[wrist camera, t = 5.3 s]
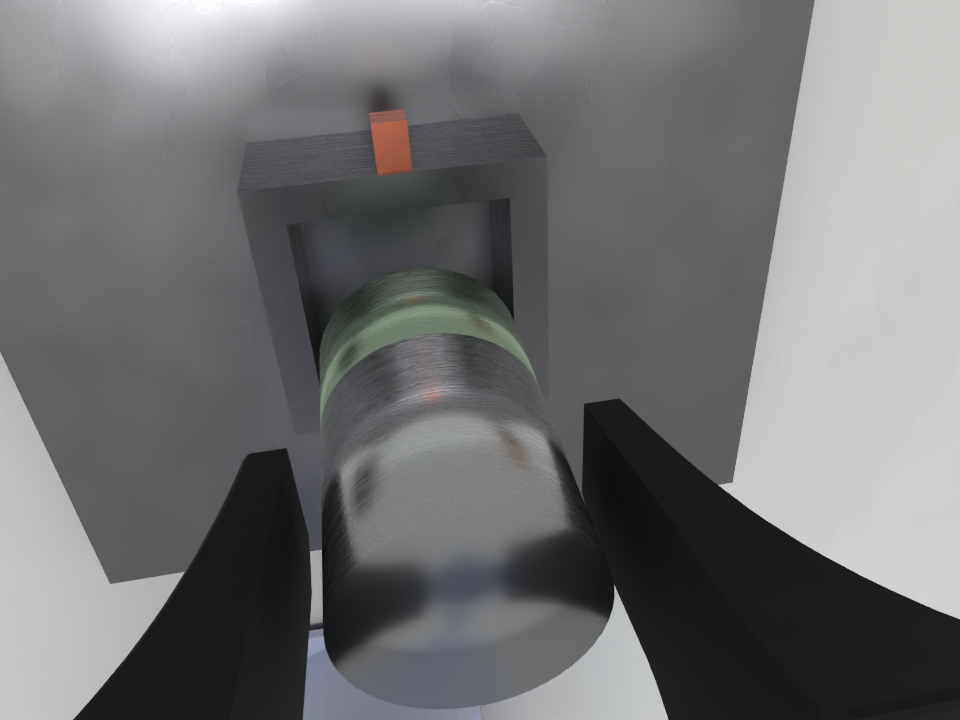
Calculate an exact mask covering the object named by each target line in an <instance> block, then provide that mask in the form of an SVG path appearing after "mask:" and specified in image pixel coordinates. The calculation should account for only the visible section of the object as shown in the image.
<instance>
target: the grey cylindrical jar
mask: <svg viewBox="0 0 960 720" xmlns="http://www.w3.org/2000/svg"><path fill="white" fill-rule="evenodd" d="M320 432H321V506H322V580H323V636H324V643H325V648H326V651H327V653H328V656H329V659H330V660H331V662H332V664H333V665H334V667H335V668H336V670H337V671H338V672H339V673H340V674H341V675H342V676H343V677H344V679H346V680H347V681H348V682H349V683H351V684H352V685H353V686H354V687H356V688H357V689H359V690H361V691H363V692H364V693H366V694H368V695H370V696H373V697H375V698H377V699H380V700H382V701H386V702H389V703H393V704H396V705H401V706H406V707H412V708H422V709H458V708H467V707H474V706H481V705H485V704H489V703H494V702H498V701H501V700H505V699H508V698H511V697H514V696H517V695H519V694H522V693H524V692H527V691H530V690H532V689H534V688H536V687H538V686H540V685H542V684H544V683H546V682H548V681H549V680H551V679H553V678H554V677H556V676H558V675H559V674H561V673H562V672H563V671H565V670H566V669H568V668H569V667H570V666H572V665H573V664H574V663H575V662H576V661H578V660H579V659H580V658H581V657H582V656H583V655H584V654H585V653H586V652H587V651H588V650H589V649H590V648H591V647H592V646H593V644H594V643H595V642H596V640H597V639H598V638H599V636H600V635H601V633H602V632H603V630H604V628H605V626H606V624H607V622H608V620H609V617H610V614H611V611H612V608H613V602H614V582H613V578H612V574H611V571H610V568H609V565H608V563H607V560H606V558H605V555H604V552H603V550H602V547H601V545H600V542H599V540H598V537H597V534H596V532H595V529H594V527H593V524H592V521H591V519H590V516H589V514H588V511H587V509H586V506H585V503H584V501H583V498H582V496H581V493H580V491H579V488H578V485H577V483H576V480H575V478H574V475H573V472H572V470H571V467H570V465H569V462H568V460H567V457H566V454H565V452H564V449H563V447H562V444H561V441H560V439H559V436H558V434H557V431H556V429H555V426H554V423H553V421H552V418H551V416H550V413H549V411H548V408H547V405H546V403H545V400H544V398H543V395H542V392H541V390H540V387H539V385H538V382H537V380H536V377H535V374H534V372H533V369H532V367H531V364H530V361H529V359H528V356H527V354H526V351H525V349H524V346H523V343H522V341H521V338H520V336H519V333H518V331H517V328H516V325H515V323H514V320H513V318H512V316H511V314H510V312H509V310H508V309H507V307H506V306H505V304H504V303H503V301H502V300H501V299H500V298H499V297H498V296H497V295H496V294H495V293H494V292H493V291H492V290H490V289H489V288H488V287H487V286H485V285H484V284H482V283H480V282H479V281H477V280H475V279H473V278H471V277H468V276H466V275H464V274H460V273H457V272H454V271H450V270H444V269H436V268H417V269H408V270H402V271H397V272H394V273H390V274H387V275H384V276H382V277H379V278H377V279H375V280H373V281H371V282H369V283H367V284H366V285H364V286H362V287H361V288H359V289H358V290H356V291H355V292H354V293H353V294H351V295H350V296H349V297H348V298H347V299H346V300H345V301H344V302H343V303H342V304H341V305H340V306H339V307H338V309H337V310H336V311H335V313H334V314H333V315H332V317H331V319H330V321H329V322H328V324H327V326H326V329H325V331H324V334H323V337H322V341H321V346H320Z"/></svg>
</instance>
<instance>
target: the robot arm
mask: <svg viewBox="0 0 960 720" xmlns="http://www.w3.org/2000/svg"><path fill="white" fill-rule="evenodd" d="M582 495H583V499H584V502H585V506H586V509H587V511H588V514H589V516H590V519H591V521H592V524H593V527H594V529H595V532H596V534H597V537H598V540H599V542H600V545H601V547H602V550H603V552H604V555H605V558H606V560H607V563H608V565H609V568H610V571H611V574H612V578H613V582H614V585H615V587H616V589H617V592H618V594H619V596H620V598H621V601H622V603H623V605H624V607H625V610H626V612H627V614H628V616H629V619H630V621H631V623H632V625H633V628H634V630H635V632H636V635H637V637H638V639H639V641H640V644H641V646H642V648H643V650H644V653H645V655H646V657H647V660H648V662H649V665H650V667H651V670H652V672H653V675H654V677H655V680H656V683H657V686H658V689H659V692H660V695H661V698H662V701H663V704H664V707H665V710H666V713H667V716H668V719H669V720H960V619H957V618H955V617H952V616H949V615H947V614H944V613H942V612H939V611H937V610H934V609H932V608H929V607H927V606H925V605H923V604H920V603H918V602H916V601H914V600H911V599H909V598H907V597H905V596H902V595H900V594H898V593H896V592H894V591H891V590H889V589H887V588H885V587H883V586H881V585H879V584H877V583H875V582H873V581H871V580H868V579H866V578H864V577H862V576H860V575H858V574H857V573H855V572H853V571H851V570H849V569H847V568H845V567H844V566H842V565H840V564H838V563H836V562H834V561H832V560H830V559H829V558H827V557H825V556H823V555H821V554H820V553H818V552H816V551H814V550H813V549H811V548H809V547H807V546H806V545H804V544H802V543H801V542H799V541H797V540H796V539H794V538H793V537H791V536H790V535H788V534H786V533H785V532H783V531H782V530H780V529H779V528H777V527H775V526H774V525H772V524H771V523H769V522H768V521H766V520H765V519H763V518H762V517H760V516H759V515H757V514H756V513H754V512H753V511H752V510H750V509H749V508H747V507H746V506H745V505H743V504H742V503H741V502H739V501H738V500H737V499H735V498H734V497H733V496H731V495H730V494H729V493H727V492H726V491H725V490H723V489H722V488H721V487H720V486H718V485H717V484H716V483H715V482H713V481H712V480H711V479H710V478H708V477H707V476H706V475H705V474H704V473H703V472H701V471H700V470H699V469H698V468H697V467H695V466H694V465H693V464H692V463H691V462H689V461H688V460H687V459H686V458H685V457H683V456H682V455H681V454H680V453H679V452H678V451H677V450H675V449H674V448H673V447H672V446H671V445H670V444H669V443H668V442H667V441H665V440H664V439H663V438H662V437H661V436H660V435H659V434H658V433H657V432H656V431H654V430H653V429H652V428H651V427H650V426H649V425H648V424H647V423H646V422H645V421H644V420H643V419H642V418H641V417H639V416H638V415H637V414H636V413H635V412H634V411H633V410H632V409H631V408H630V407H629V406H628V405H627V404H626V403H624V402H623V401H622V400H621V399H619V398H618V399H612V400H605V401H598V402H592V403H585V404H584V424H583V463H582ZM311 596H312V590H311V566H310V547H309V535H308V531H307V527H306V523H305V519H304V515H303V511H302V507H301V503H300V499H299V495H298V491H297V487H296V483H295V479H294V475H293V471H292V467H291V463H290V459H289V455H288V451H287V448H283V449H276V450H270V451H263V452H256V453H250V454H248V455H247V456H246V457H245V458H244V460H243V461H242V464H241V466H240V468H239V471H238V473H237V475H236V478H235V480H234V482H233V484H232V486H231V488H230V491H229V493H228V495H227V497H226V499H225V501H224V503H223V505H222V507H221V509H220V511H219V513H218V515H217V517H216V519H215V521H214V522H213V524H212V526H211V528H210V530H209V532H208V533H207V535H206V537H205V539H204V541H203V542H202V544H201V546H200V548H199V550H198V552H197V553H196V555H195V557H194V558H193V560H192V562H191V563H190V565H189V567H188V568H187V570H186V571H185V573H184V575H183V576H182V578H181V579H180V581H179V583H178V584H177V586H176V587H175V589H174V591H173V592H172V594H171V595H170V597H169V599H168V600H167V602H166V603H165V605H164V606H163V608H162V609H161V610H160V612H159V613H158V615H157V616H156V618H155V619H154V621H153V622H152V623H151V625H150V626H149V628H148V629H147V630H146V632H145V633H144V634H143V636H142V637H141V638H140V640H139V641H138V642H137V644H136V645H135V646H134V648H133V649H132V650H131V652H130V653H129V654H128V656H127V657H126V658H125V659H124V661H123V662H122V663H121V664H120V666H119V667H118V668H117V669H116V670H115V672H114V673H113V674H112V675H111V676H110V678H109V679H108V680H107V681H106V683H105V684H104V685H103V686H102V687H101V689H100V690H99V691H98V692H97V693H96V695H95V696H94V697H93V698H92V699H91V700H90V701H89V703H88V704H87V705H86V706H85V707H84V708H83V709H82V710H81V712H80V713H79V714H78V715H77V716H76V717H75V718H74V719H73V720H481V711H480V706H474V707H467V708H458V709H422V708H412V707H406V706H401V705H396V704H393V703H389V702H386V701H382V700H380V699H377V698H375V697H373V696H370V695H368V694H366V693H364V692H363V691H361V690H359V689H357V688H356V687H354V686H353V685H352V684H351V683H349V682H348V681H347V680H346V679H344V677H343V676H342V675H341V674H340V673H339V672H338V671H337V670H336V668H335V667H334V665H333V664H332V662H331V660H330V659H329V656H328V653H327V651H326V648H325V643H324V636H323V629H317V630H311V631H309V627H310V612H311Z"/></svg>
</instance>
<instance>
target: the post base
mask: <svg viewBox="0 0 960 720" xmlns="http://www.w3.org/2000/svg"><path fill="white" fill-rule="evenodd" d="M813 6H814V0H0V352H1V354H2V356H3V358H4V360H5V363H6V365H7V367H8V369H9V371H10V373H11V375H12V377H13V379H14V382H15V384H16V386H17V388H18V390H19V392H20V394H21V396H22V398H23V401H24V403H25V405H26V407H27V409H28V411H29V413H30V415H31V417H32V420H33V422H34V424H35V426H36V428H37V430H38V432H39V434H40V436H41V439H42V441H43V443H44V445H45V447H46V449H47V451H48V453H49V455H50V458H51V460H52V462H53V464H54V466H55V468H56V470H57V472H58V474H59V477H60V479H61V481H62V483H63V485H64V487H65V489H66V491H67V493H68V496H69V498H70V500H71V502H72V504H73V506H74V508H75V510H76V512H77V515H78V517H79V519H80V521H81V523H82V525H83V527H84V529H85V531H86V534H87V536H88V538H89V540H90V542H91V544H92V546H93V548H94V550H95V553H96V555H97V557H98V559H99V561H100V563H101V565H102V567H103V569H104V572H105V574H106V576H107V578H108V580H109V582H110V584H112V583H118V582H124V581H130V580H137V579H143V578H149V577H155V576H161V575H167V574H173V573H180V572H185V571H186V570H187V568H188V567H189V565H190V563H191V562H192V560H193V558H194V557H195V555H196V553H197V552H198V550H199V548H200V546H201V544H202V542H203V541H204V539H205V537H206V535H207V533H208V532H209V530H210V528H211V526H212V524H213V522H214V521H215V519H216V517H217V515H218V513H219V511H220V509H221V507H222V505H223V503H224V501H225V499H226V497H227V495H228V493H229V491H230V488H231V486H232V484H233V482H234V480H235V478H236V475H237V473H238V471H239V468H240V466H241V464H242V461H243V460H244V458H245V457H246V456H247V455H248V454H250V453H256V452H263V451H270V450H276V449H283V448H287V451H288V455H289V459H290V463H291V467H292V471H293V475H294V479H295V483H296V487H297V491H298V495H299V499H300V503H301V507H302V511H303V515H304V519H305V523H306V527H307V531H308V535H309V547H310V551H314V550H321V549H322V506H321V432H320V346H321V341H322V337H323V334H324V331H325V329H326V326H327V324H328V322H329V321H330V319H331V317H332V315H333V314H334V313H335V311H336V310H337V309H338V307H339V306H340V305H341V304H342V303H343V302H344V301H345V300H346V299H347V298H348V297H349V296H350V295H351V294H353V293H354V292H355V291H356V290H358V289H359V288H361V287H362V286H364V285H366V284H367V283H369V282H371V281H373V280H375V279H377V278H379V277H382V276H384V275H387V274H390V273H394V272H397V271H402V270H408V269H417V268H436V269H444V270H450V271H454V272H457V273H460V274H464V275H466V276H468V277H471V278H473V279H475V280H477V281H479V282H480V283H482V284H484V285H485V286H487V287H488V288H489V289H490V290H492V291H493V292H494V293H495V294H496V295H497V296H498V297H499V298H500V299H501V300H502V301H503V303H504V304H505V306H506V307H507V309H508V310H509V312H510V314H511V316H512V318H513V320H514V323H515V325H516V328H517V331H518V333H519V336H520V338H521V341H522V343H523V346H524V349H525V351H526V354H527V356H528V359H529V361H530V364H531V367H532V369H533V372H534V374H535V377H536V380H537V382H538V385H539V387H540V390H541V392H542V395H543V398H544V400H545V403H546V405H547V408H548V411H549V413H550V416H551V418H552V421H553V423H554V426H555V429H556V431H557V434H558V436H559V439H560V441H561V444H562V447H563V449H564V452H565V454H566V457H567V460H568V462H569V465H570V467H571V470H572V472H573V475H574V478H575V480H576V483H577V485H578V488H579V491H580V493H581V496H582V498H583V495H582V463H583V424H584V404H585V403H592V402H598V401H605V400H612V399H618V398H619V399H621V400H622V401H623V402H624V403H626V404H627V405H628V406H629V407H630V408H631V409H632V410H633V411H634V412H635V413H636V414H637V415H638V416H639V417H641V418H642V419H643V420H644V421H645V422H646V423H647V424H648V425H649V426H650V427H651V428H652V429H653V430H654V431H656V432H657V433H658V434H659V435H660V436H661V437H662V438H663V439H664V440H665V441H667V442H668V443H669V444H670V445H671V446H672V447H673V448H674V449H675V450H677V451H678V452H679V453H680V454H681V455H682V456H683V457H685V458H686V459H687V460H688V461H689V462H691V463H692V464H693V465H694V466H695V467H697V468H698V469H699V470H700V471H701V472H703V473H704V474H705V475H706V476H707V477H708V478H710V479H711V480H712V481H713V482H715V483H716V484H717V485H719V484H725V483H731V482H733V476H734V470H735V464H736V459H737V453H738V447H739V441H740V435H741V429H742V423H743V417H744V412H745V406H746V400H747V394H748V388H749V382H750V376H751V370H752V365H753V359H754V353H755V347H756V341H757V335H758V329H759V323H760V318H761V312H762V306H763V300H764V294H765V288H766V282H767V276H768V271H769V265H770V259H771V253H772V247H773V241H774V235H775V229H776V224H777V218H778V212H779V206H780V200H781V194H782V188H783V182H784V177H785V171H786V165H787V159H788V153H789V147H790V141H791V135H792V130H793V124H794V118H795V112H796V106H797V100H798V94H799V88H800V83H801V77H802V71H803V65H804V59H805V53H806V47H807V41H808V36H809V30H810V24H811V18H812V12H813ZM583 501H584V499H583ZM584 503H585V502H584Z"/></svg>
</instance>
